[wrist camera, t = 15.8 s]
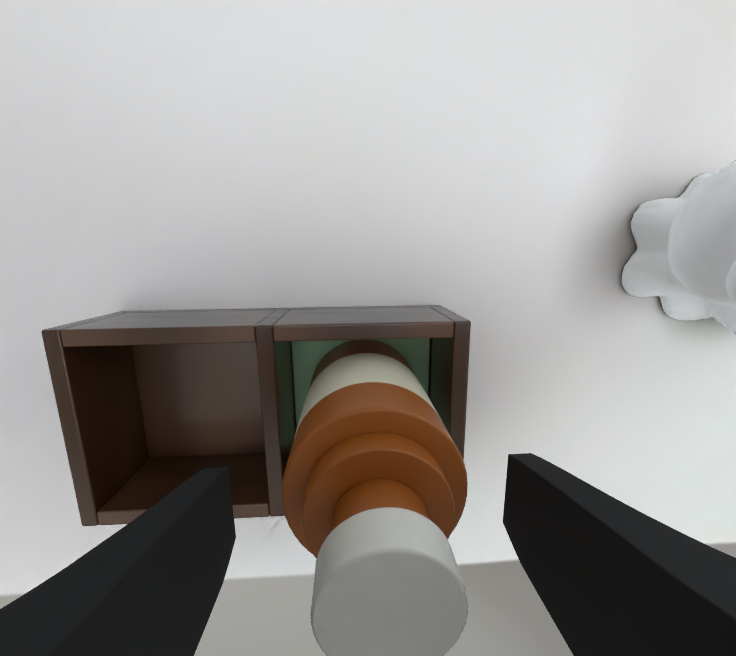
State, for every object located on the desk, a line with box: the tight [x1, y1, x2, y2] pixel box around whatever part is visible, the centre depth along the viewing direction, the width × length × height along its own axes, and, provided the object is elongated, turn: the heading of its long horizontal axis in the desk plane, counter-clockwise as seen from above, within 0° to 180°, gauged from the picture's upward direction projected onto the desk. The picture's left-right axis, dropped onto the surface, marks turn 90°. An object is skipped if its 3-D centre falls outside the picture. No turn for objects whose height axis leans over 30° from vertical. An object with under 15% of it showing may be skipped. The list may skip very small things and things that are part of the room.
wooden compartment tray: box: [42, 305, 471, 526], centre depth 14 cm, size 14×8×4 cm, turn 90°
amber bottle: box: [281, 340, 468, 656], centre depth 11 cm, size 5×5×10 cm
